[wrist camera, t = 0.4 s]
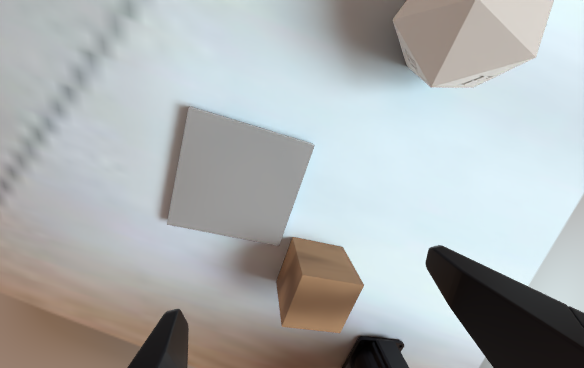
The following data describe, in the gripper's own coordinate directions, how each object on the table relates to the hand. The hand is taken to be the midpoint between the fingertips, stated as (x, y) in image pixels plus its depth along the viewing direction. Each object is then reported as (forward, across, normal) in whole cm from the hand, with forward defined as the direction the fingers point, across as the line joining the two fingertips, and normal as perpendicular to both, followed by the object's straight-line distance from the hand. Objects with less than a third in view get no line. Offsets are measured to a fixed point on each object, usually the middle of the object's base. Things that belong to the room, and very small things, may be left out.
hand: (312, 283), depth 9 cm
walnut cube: (+12, -2, +13) cm, 18 cm away
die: (+15, -14, -7) cm, 22 cm away
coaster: (+14, +3, +3) cm, 14 cm away
